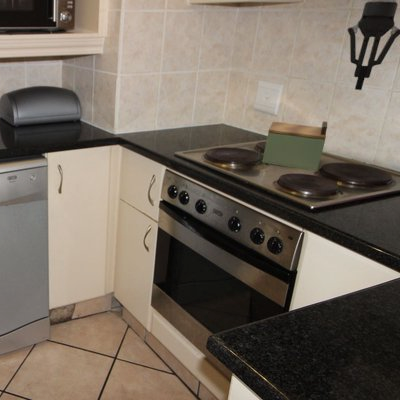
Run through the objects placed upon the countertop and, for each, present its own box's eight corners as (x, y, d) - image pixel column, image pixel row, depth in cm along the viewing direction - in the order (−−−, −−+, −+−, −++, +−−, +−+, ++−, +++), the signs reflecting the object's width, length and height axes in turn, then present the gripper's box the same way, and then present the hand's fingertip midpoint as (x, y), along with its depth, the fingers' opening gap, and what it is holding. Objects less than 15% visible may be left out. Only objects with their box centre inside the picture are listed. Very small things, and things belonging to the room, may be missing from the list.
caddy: (318, 160, 156) (325, 131, 152) (317, 171, 145) (325, 140, 142) (266, 152, 162) (272, 124, 159) (262, 162, 152) (268, 132, 149)
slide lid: (325, 130, 152) (328, 120, 150) (325, 139, 142) (328, 128, 140) (272, 123, 159) (274, 114, 157) (268, 132, 148) (270, 121, 147)
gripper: (409, 1, 130) (383, 89, 139) (353, 1, 136) (332, 85, 145) (413, 1, 124) (386, 93, 133) (354, 0, 129) (332, 88, 139)
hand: (358, 89), depth 139 cm, fingers closed
